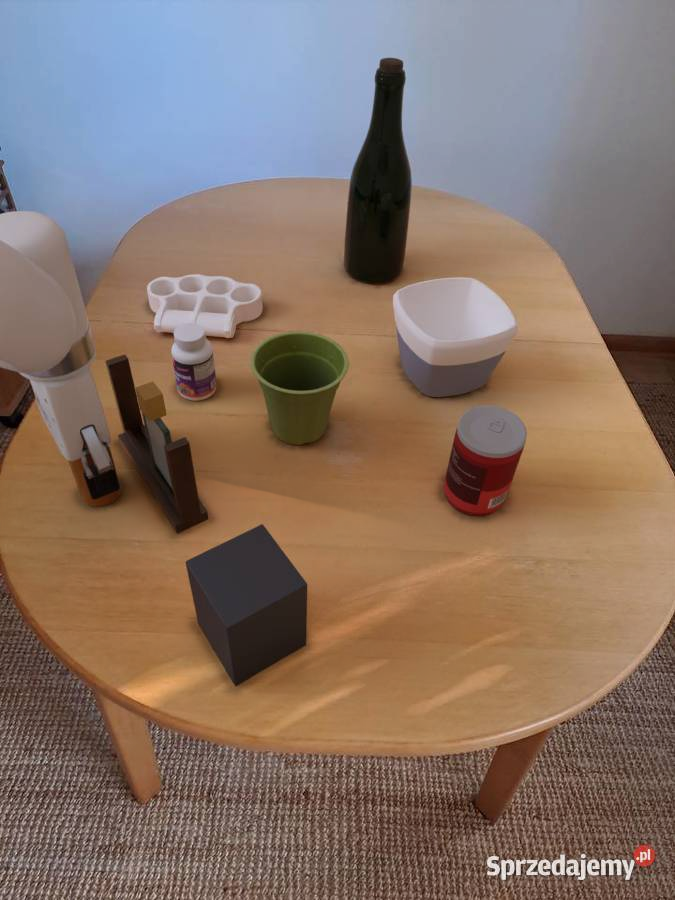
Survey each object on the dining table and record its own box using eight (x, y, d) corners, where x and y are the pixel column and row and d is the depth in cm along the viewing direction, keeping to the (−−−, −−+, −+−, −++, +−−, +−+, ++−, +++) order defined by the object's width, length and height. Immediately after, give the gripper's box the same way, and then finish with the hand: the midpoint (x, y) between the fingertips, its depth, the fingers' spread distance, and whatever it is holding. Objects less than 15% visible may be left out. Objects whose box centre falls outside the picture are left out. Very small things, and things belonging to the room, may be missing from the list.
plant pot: (250, 458, 84) (245, 390, 76) (258, 396, 93) (255, 328, 85) (344, 461, 85) (349, 394, 77) (344, 399, 93) (348, 332, 85)
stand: (235, 687, 64) (226, 628, 56) (198, 623, 68) (184, 561, 60) (306, 645, 67) (308, 584, 59) (266, 587, 71) (262, 523, 64)
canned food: (508, 476, 84) (530, 412, 76) (501, 525, 79) (524, 460, 71) (448, 463, 85) (463, 398, 77) (437, 509, 80) (452, 445, 72)
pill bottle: (170, 387, 93) (159, 329, 86) (202, 371, 96) (195, 314, 89) (192, 407, 91) (183, 349, 84) (224, 390, 93) (218, 333, 86)
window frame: (176, 534, 76) (159, 454, 66) (119, 443, 85) (98, 362, 76) (209, 519, 77) (196, 439, 68) (149, 432, 87) (131, 351, 78)
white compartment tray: (134, 336, 101) (160, 283, 111) (253, 345, 101) (267, 292, 111) (130, 317, 99) (157, 265, 109) (252, 327, 98) (267, 274, 108)
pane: (172, 504, 76) (153, 413, 66) (147, 466, 80) (126, 375, 70) (188, 496, 77) (172, 406, 67) (163, 459, 81) (144, 369, 71)
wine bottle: (407, 260, 120) (434, 53, 96) (396, 290, 113) (422, 75, 89) (351, 250, 122) (363, 45, 98) (336, 280, 114) (346, 66, 91)
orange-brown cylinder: (89, 512, 77) (70, 458, 71) (75, 486, 80) (56, 432, 74) (127, 496, 79) (112, 442, 73) (112, 471, 82) (96, 417, 75)
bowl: (464, 333, 105) (478, 270, 97) (514, 394, 95) (534, 330, 87) (374, 350, 101) (380, 285, 93) (416, 416, 91) (428, 350, 83)
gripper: (-13, 312, 67) (36, 437, 80) (41, 411, 58) (87, 536, 70) (61, 291, 71) (97, 414, 83) (125, 382, 61) (154, 506, 73)
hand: (92, 469), depth 77 cm, fingers open, 7 cm apart
